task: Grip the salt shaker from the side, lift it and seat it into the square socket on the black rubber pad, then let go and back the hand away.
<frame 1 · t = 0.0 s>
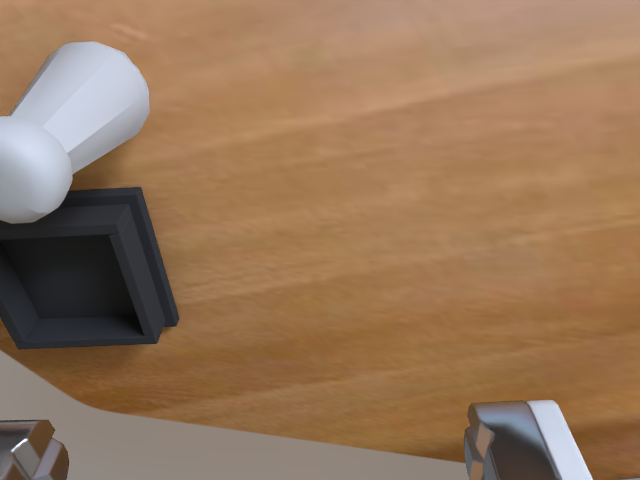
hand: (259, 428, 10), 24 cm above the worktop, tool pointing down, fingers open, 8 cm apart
salt shaker: (111, 81, 30), on the worktop
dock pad: (82, 262, 38), on the worktop
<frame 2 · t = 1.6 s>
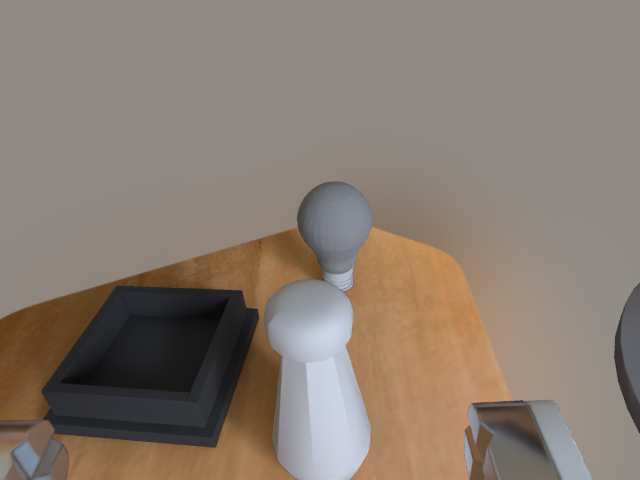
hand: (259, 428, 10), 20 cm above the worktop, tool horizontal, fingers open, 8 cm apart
salt shaker: (324, 459, 31), on the worktop
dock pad: (163, 369, 38), on the worktop
light bulb: (338, 288, 45), on the worktop
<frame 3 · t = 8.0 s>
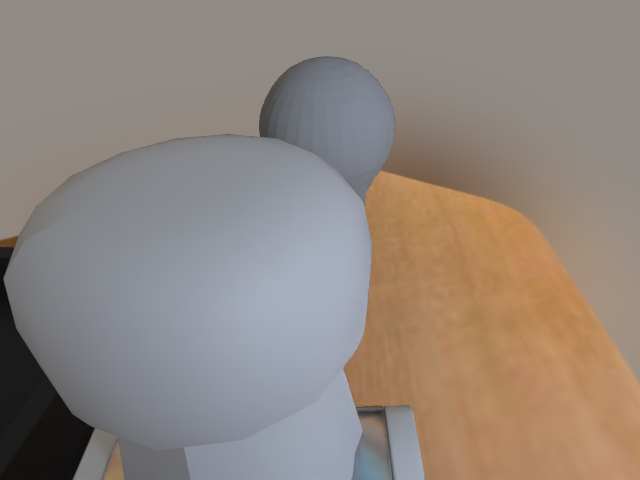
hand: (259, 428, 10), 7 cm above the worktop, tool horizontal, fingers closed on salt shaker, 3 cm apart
light bulb: (334, 257, 27), on the worktop
when the fingers open (8 cm above the worktop, at t = 14.4 s): salt shaker stays where it is, resting on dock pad.
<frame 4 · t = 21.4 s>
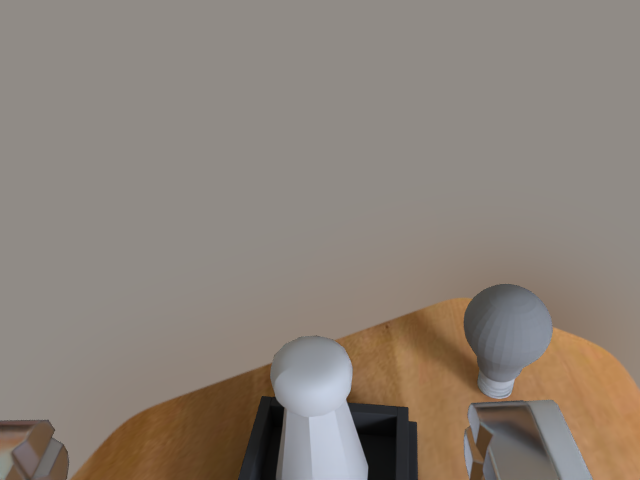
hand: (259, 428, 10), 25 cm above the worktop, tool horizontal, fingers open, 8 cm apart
light bulb: (493, 391, 41), on the worktop
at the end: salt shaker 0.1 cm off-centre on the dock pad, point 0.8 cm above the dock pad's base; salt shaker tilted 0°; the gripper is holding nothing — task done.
